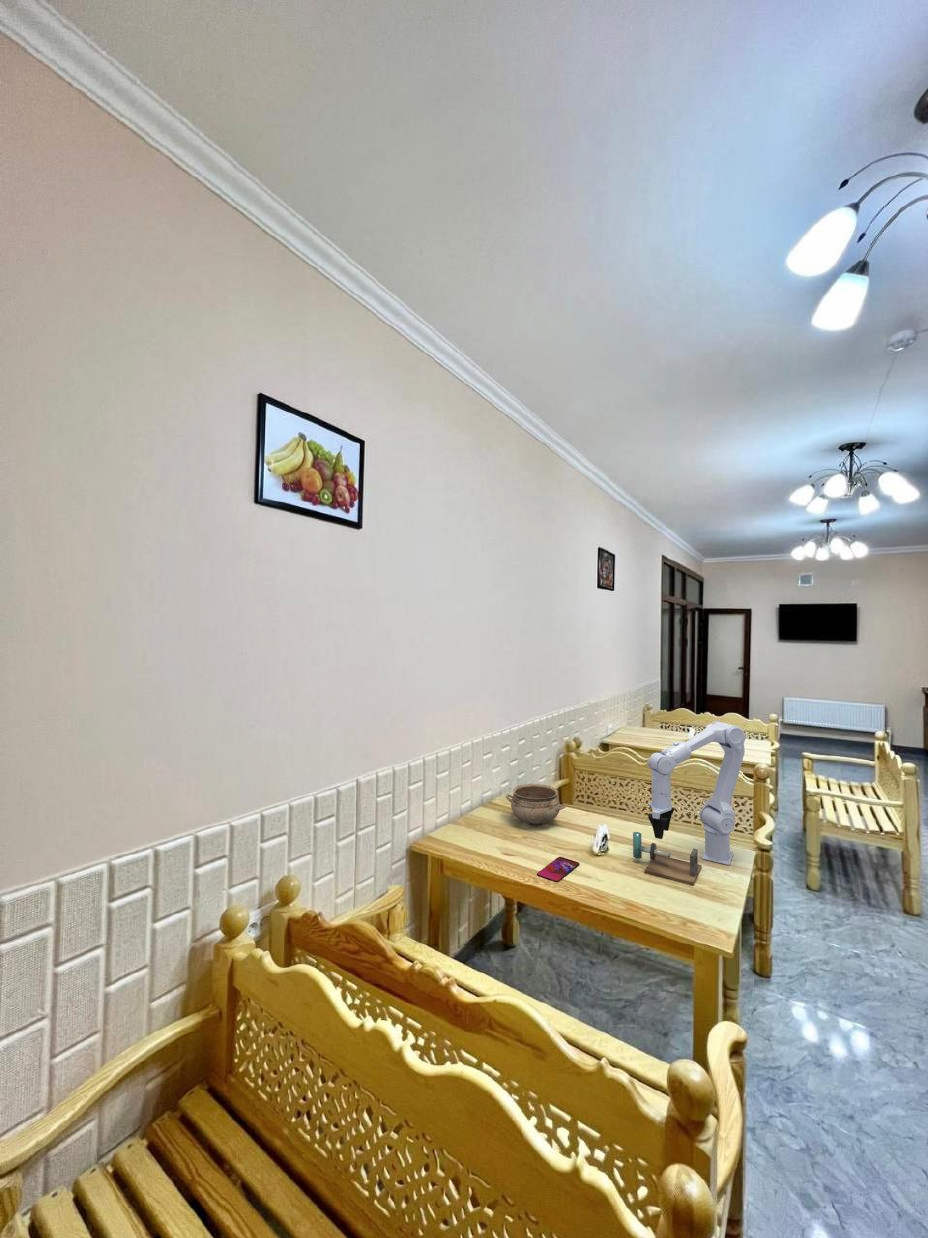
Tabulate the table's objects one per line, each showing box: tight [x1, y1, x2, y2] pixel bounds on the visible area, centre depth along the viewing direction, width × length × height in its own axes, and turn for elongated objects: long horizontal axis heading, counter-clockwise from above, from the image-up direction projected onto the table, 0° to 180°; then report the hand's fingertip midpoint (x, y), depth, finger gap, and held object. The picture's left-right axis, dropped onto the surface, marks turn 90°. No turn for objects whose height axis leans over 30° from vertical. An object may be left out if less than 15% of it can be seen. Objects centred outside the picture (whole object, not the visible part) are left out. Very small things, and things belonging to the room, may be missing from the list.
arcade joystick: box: [632, 831, 671, 861], centre depth 161 cm, size 5×11×8 cm, turn 55°
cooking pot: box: [505, 783, 568, 827], centre depth 197 cm, size 25×19×12 cm
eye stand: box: [644, 847, 702, 887], centre depth 158 cm, size 13×14×7 cm
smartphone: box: [536, 856, 580, 883], centre depth 159 cm, size 8×1×15 cm
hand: (661, 834), depth 162 cm, fingers open, 7 cm apart
